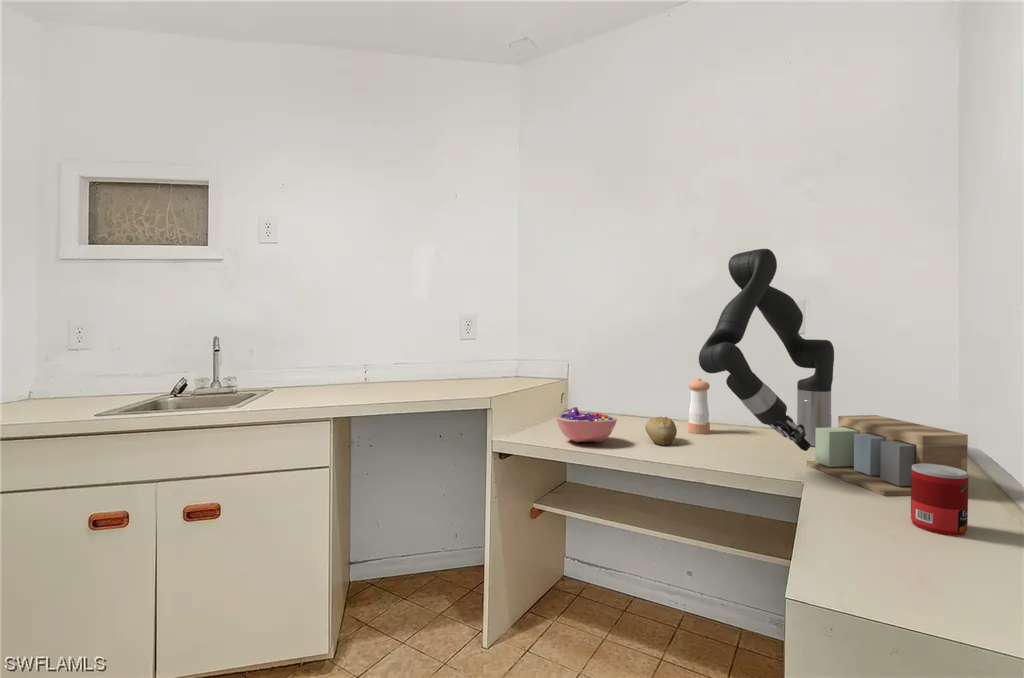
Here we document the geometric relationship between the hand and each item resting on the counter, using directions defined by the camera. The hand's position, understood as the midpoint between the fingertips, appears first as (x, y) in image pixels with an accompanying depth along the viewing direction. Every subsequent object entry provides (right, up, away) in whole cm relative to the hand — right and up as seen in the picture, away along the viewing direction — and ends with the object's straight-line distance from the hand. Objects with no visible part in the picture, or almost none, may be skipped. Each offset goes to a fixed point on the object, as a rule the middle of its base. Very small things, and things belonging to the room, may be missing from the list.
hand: (806, 447), depth 129 cm
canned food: (+2, -7, -37) cm, 38 cm away
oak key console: (+14, -6, -7) cm, 17 cm away
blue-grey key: (+14, -4, -7) cm, 16 cm away
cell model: (-53, -6, +33) cm, 62 cm away
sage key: (+9, -4, +1) cm, 10 cm away
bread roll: (-28, -5, +33) cm, 44 cm away
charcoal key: (+15, -5, -15) cm, 21 cm away
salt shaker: (-10, -5, +47) cm, 48 cm away
